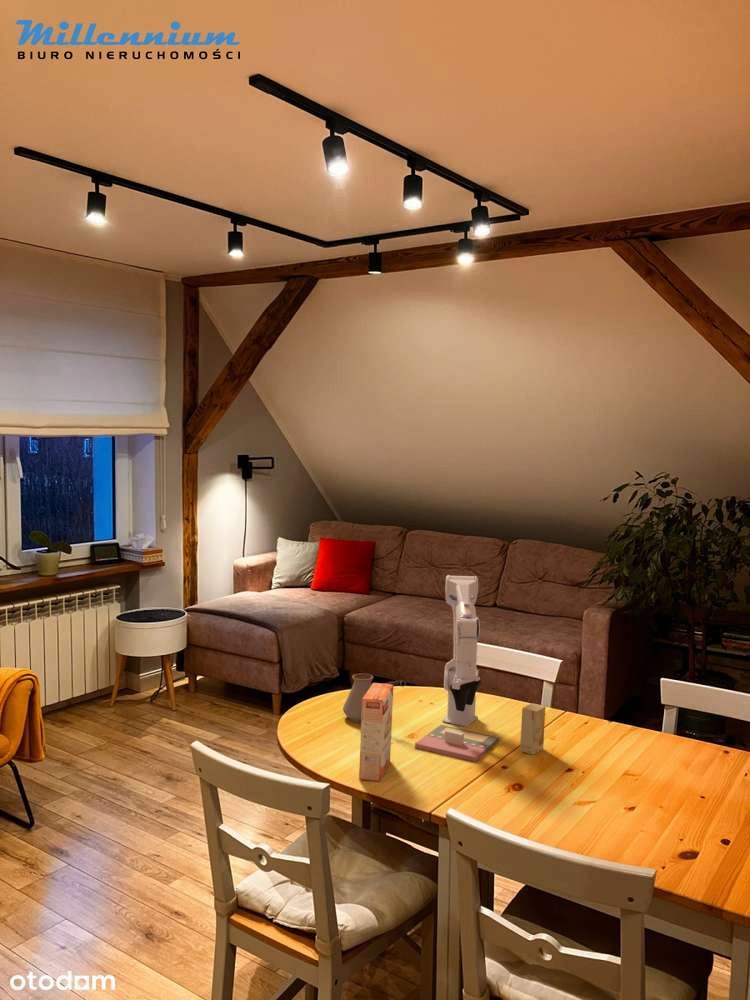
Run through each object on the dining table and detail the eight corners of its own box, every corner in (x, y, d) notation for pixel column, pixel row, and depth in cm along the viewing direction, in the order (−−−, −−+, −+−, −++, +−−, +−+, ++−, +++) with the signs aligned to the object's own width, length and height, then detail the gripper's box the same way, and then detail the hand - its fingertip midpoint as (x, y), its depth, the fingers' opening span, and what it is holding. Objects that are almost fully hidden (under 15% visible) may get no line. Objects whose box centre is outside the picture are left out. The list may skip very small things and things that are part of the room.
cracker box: (381, 783, 203) (384, 700, 201) (358, 780, 204) (360, 698, 202) (392, 760, 216) (394, 683, 214) (369, 758, 217) (371, 681, 216)
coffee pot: (334, 718, 247) (335, 669, 245) (359, 708, 255) (360, 661, 254) (390, 736, 233) (392, 685, 232) (414, 725, 242) (416, 676, 241)
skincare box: (533, 755, 222) (535, 711, 221) (519, 751, 225) (521, 708, 224) (544, 748, 227) (546, 705, 226) (530, 744, 230) (531, 702, 229)
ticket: (440, 728, 240) (440, 723, 240) (498, 741, 232) (499, 736, 232) (426, 739, 232) (426, 734, 232) (486, 753, 223) (486, 748, 223)
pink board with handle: (425, 739, 231) (426, 724, 231) (485, 753, 223) (486, 738, 222) (414, 747, 225) (415, 732, 225) (475, 761, 217) (476, 746, 216)
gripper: (469, 669, 222) (467, 717, 223) (489, 656, 235) (487, 702, 236) (445, 664, 225) (444, 712, 227) (466, 652, 238) (464, 698, 239)
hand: (464, 707), depth 231 cm, fingers open, 5 cm apart
